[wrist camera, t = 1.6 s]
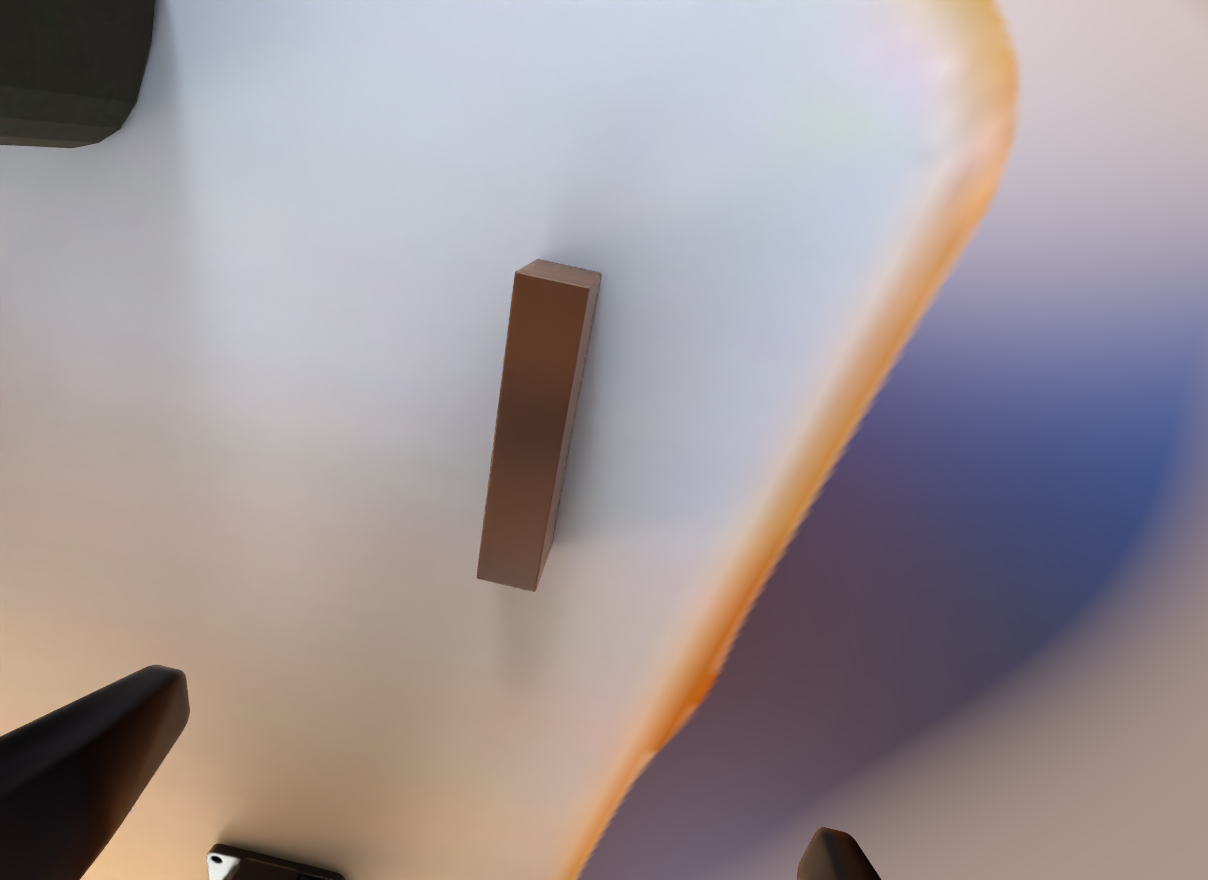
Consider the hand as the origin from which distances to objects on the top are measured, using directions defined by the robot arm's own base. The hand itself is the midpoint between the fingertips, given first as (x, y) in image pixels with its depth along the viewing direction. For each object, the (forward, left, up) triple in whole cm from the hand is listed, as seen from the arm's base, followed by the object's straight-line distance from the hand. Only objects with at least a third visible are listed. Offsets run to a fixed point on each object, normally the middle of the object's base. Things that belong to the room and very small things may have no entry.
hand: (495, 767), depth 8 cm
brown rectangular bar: (+1, +2, -11) cm, 11 cm away
